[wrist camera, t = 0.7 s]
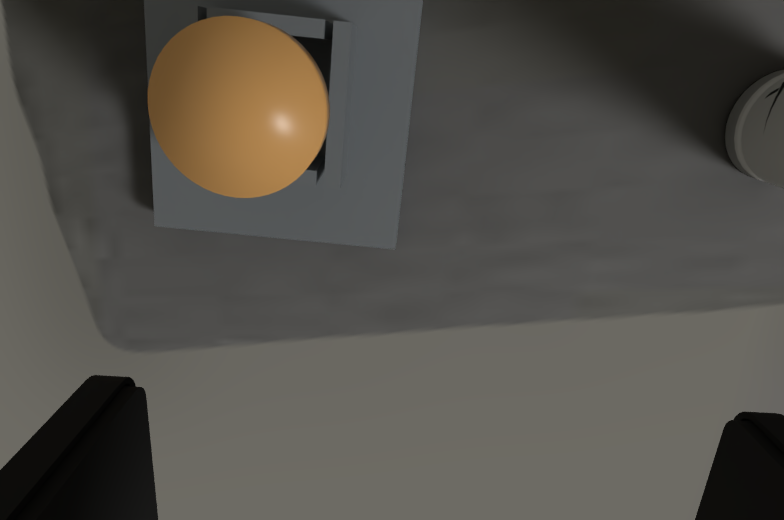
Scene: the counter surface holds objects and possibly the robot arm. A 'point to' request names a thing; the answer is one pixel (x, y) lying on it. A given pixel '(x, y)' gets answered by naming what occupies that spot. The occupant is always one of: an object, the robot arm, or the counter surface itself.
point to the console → (345, 132)
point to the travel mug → (759, 130)
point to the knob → (238, 106)
